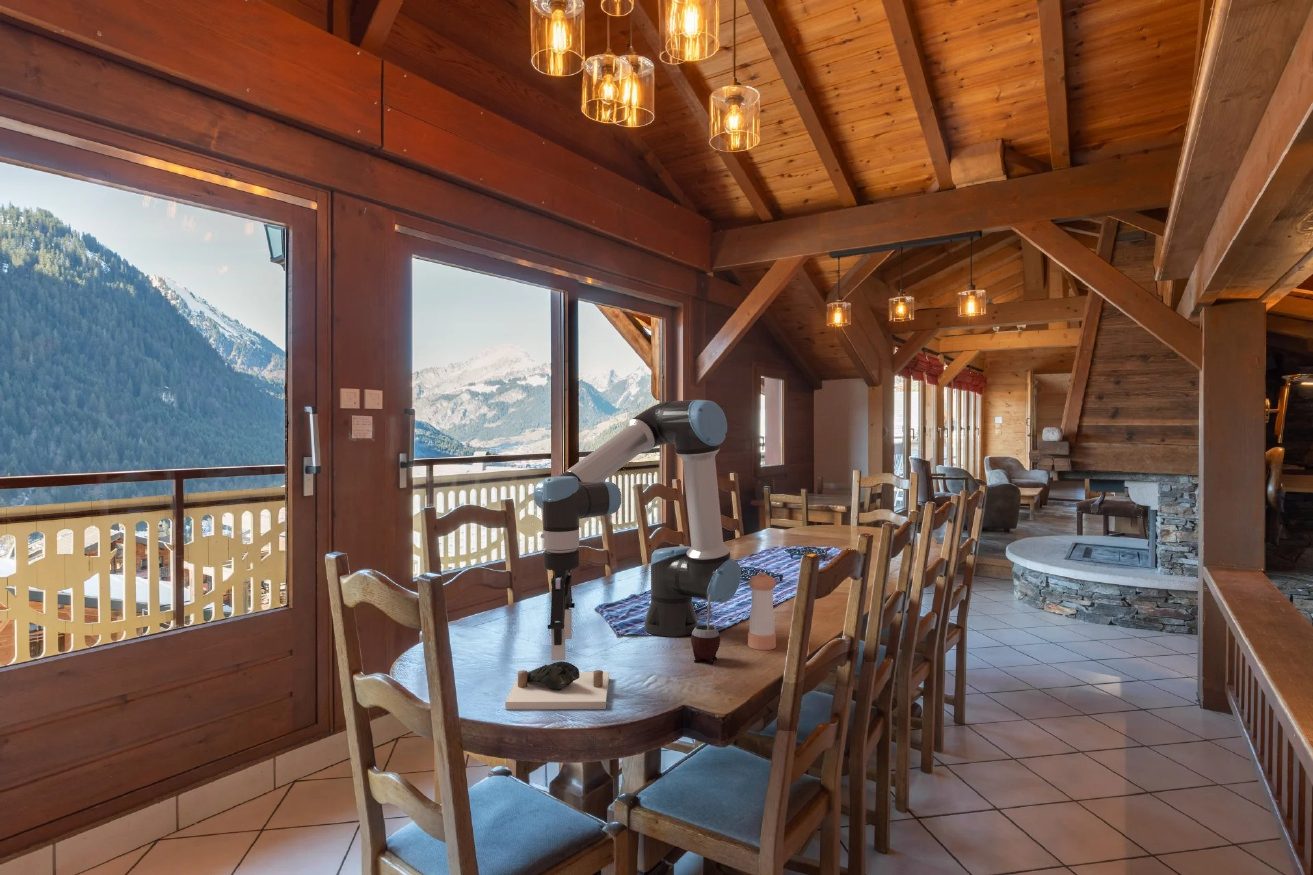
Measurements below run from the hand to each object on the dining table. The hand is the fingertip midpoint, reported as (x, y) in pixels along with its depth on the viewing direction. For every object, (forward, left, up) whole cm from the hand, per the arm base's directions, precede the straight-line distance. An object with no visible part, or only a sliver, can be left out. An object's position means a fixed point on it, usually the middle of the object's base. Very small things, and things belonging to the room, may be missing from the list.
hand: (562, 648), depth 145 cm
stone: (+2, 0, -8) cm, 8 cm away
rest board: (0, 0, -9) cm, 9 cm away
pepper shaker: (-49, -32, -10) cm, 59 cm away
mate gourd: (-33, -21, -10) cm, 40 cm away
